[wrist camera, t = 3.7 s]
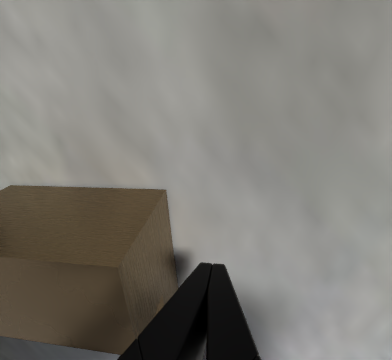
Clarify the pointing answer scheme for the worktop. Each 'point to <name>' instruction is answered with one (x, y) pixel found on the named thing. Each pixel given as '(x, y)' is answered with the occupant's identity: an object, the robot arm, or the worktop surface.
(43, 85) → the worktop surface
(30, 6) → the worktop surface
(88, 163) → the worktop surface
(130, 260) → the wooden block
